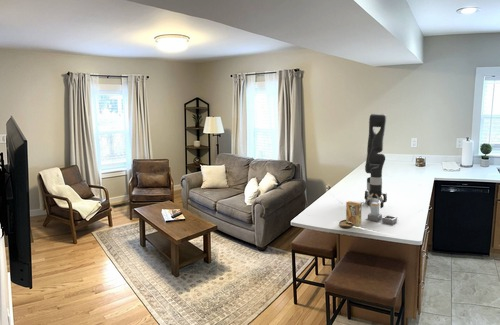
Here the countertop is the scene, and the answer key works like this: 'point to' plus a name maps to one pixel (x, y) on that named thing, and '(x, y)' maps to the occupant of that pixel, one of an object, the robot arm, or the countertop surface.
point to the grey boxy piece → (383, 219)
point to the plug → (374, 208)
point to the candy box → (353, 212)
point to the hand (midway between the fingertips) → (375, 206)
